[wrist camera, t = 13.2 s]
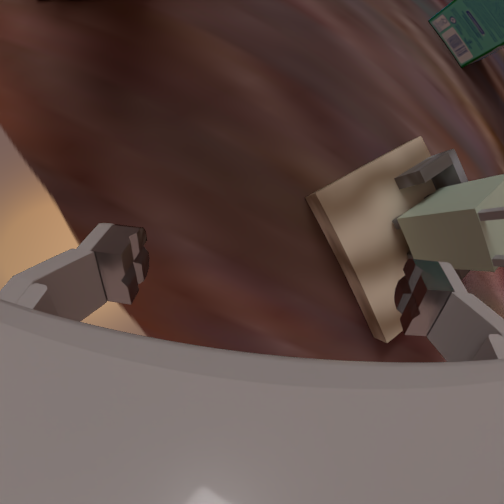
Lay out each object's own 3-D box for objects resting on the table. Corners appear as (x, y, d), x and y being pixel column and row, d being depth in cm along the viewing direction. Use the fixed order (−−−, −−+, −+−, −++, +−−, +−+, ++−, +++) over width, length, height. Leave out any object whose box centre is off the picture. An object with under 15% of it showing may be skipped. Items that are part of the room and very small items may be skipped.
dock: (304, 197, 30) (336, 184, 23) (407, 141, 32) (445, 125, 26) (373, 337, 31) (411, 353, 25) (458, 263, 34) (497, 265, 28)
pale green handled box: (386, 220, 29) (522, 202, 14) (429, 190, 30) (550, 164, 15) (406, 265, 29) (539, 274, 14) (446, 232, 30) (566, 225, 15)
